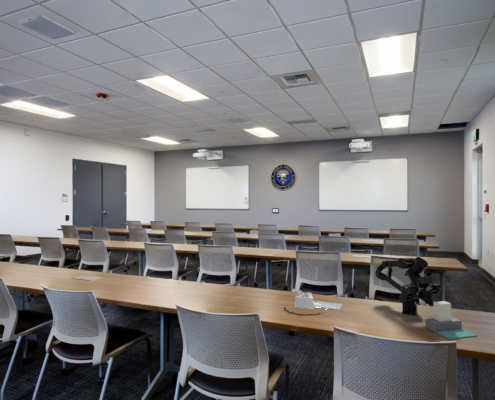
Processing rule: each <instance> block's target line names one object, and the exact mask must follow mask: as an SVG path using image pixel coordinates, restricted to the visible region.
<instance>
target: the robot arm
mask: <svg viewBox="0 0 495 400" xmlns="http://www.w3.org/2000/svg"><path fill="white" fill-rule="evenodd" d="M428 266H429V263H428V261H427V260H425V259H424V258H421V257H420V256H416V257H415V258H413V257H403V258H398V259H396V260H395V259H394V260H391V259H386V260H382V262H381V263H380V264H379V265H378V266H377V268H376V270H375V273H374V274H375V277H376V278H377V279H378V280H381V281H385V282H387V283H388V284H390V285H391V286H392V287H394V288H395V289H396V290H398V291H399V292H400V295H399V296H398V300H399V301H400V302H401V303H402V304H401V305H402V306H401V307H402V311H401V313H402V314H407V315H413V316H415V315H416V314H417V313H418V303H419V302H420V300H421V301H423V302H424V303H426V305H428V306H430V307H434V301H433V298H432V296H433V295H438V294H439V293H440V292H441V291H442V290H443V287H442V285H441V284H437V283H436V284H435V283H434V282H436V277H435V276H434V274H430V275H428V276H422V275H421V274H423V272H425V270H426V269H427V268H428ZM393 268H399V269H402V270H405V273H404V276H406V277H408V278H409V280H410V284H405V283H404V282H403V281H401V279H399V278H397V277H395V275H393V272H394V271H393ZM430 284H432V285H431V286H430ZM417 302H418V303H417Z"/></svg>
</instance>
